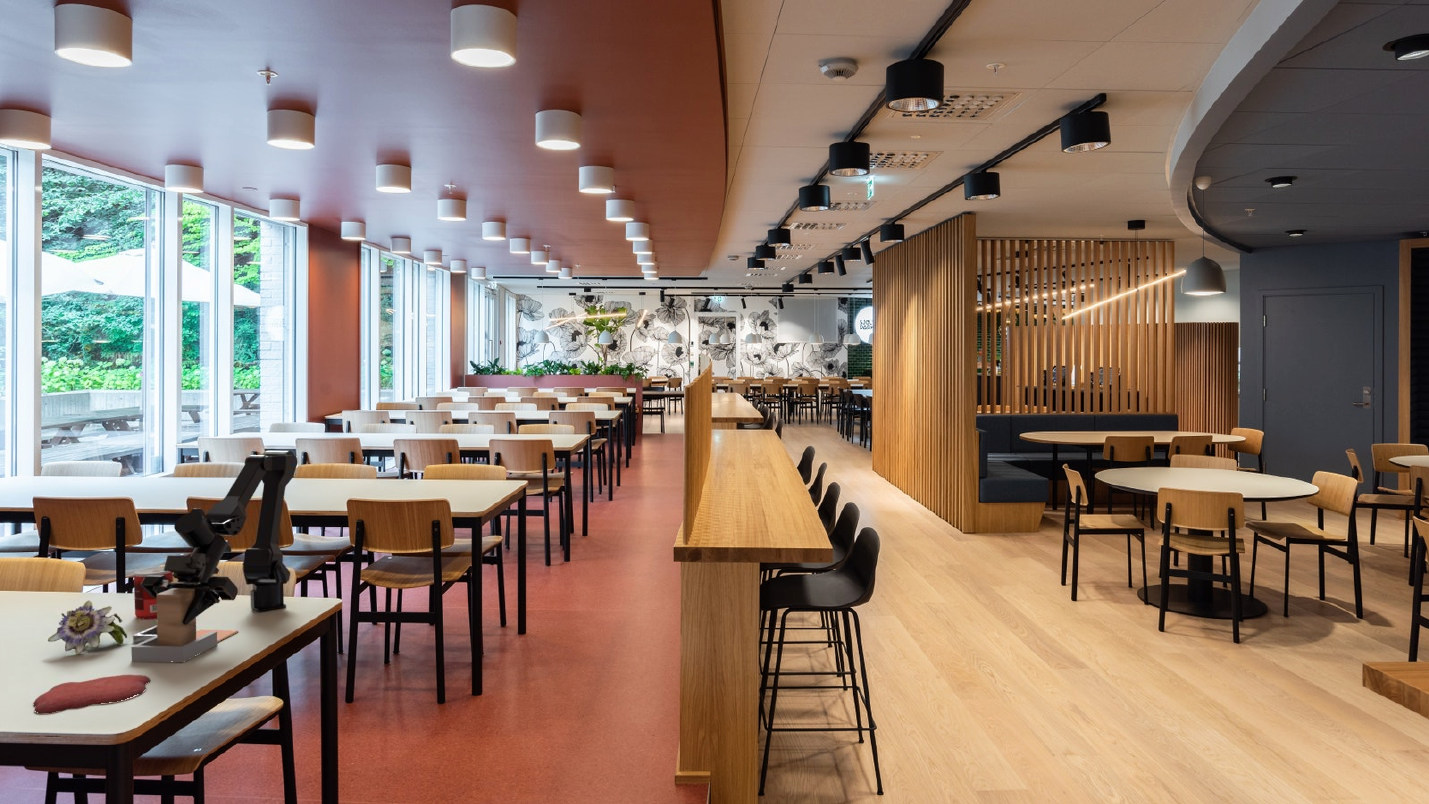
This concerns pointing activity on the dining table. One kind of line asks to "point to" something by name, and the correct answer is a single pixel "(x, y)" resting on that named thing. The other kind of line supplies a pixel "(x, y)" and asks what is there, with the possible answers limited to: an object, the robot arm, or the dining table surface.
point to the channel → (172, 650)
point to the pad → (220, 633)
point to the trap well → (145, 634)
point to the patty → (90, 692)
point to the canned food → (143, 599)
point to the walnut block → (175, 617)
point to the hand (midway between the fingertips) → (171, 623)
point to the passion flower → (87, 627)
